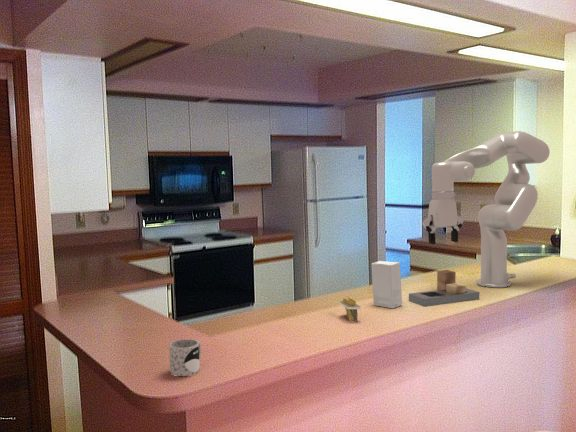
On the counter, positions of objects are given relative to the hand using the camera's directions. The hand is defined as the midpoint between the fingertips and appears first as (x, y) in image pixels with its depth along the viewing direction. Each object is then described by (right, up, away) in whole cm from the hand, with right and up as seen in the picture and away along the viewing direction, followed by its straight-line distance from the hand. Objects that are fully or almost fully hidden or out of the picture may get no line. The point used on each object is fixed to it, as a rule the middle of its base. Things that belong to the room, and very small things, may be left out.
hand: (443, 242), depth 194 cm
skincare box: (-24, -21, -16) cm, 35 cm away
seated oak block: (+2, -19, -8) cm, 21 cm away
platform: (-38, -23, -31) cm, 54 cm away
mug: (-80, -26, -71) cm, 110 cm away
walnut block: (+2, -19, +2) cm, 19 cm away
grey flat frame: (-3, -20, -10) cm, 22 cm away
